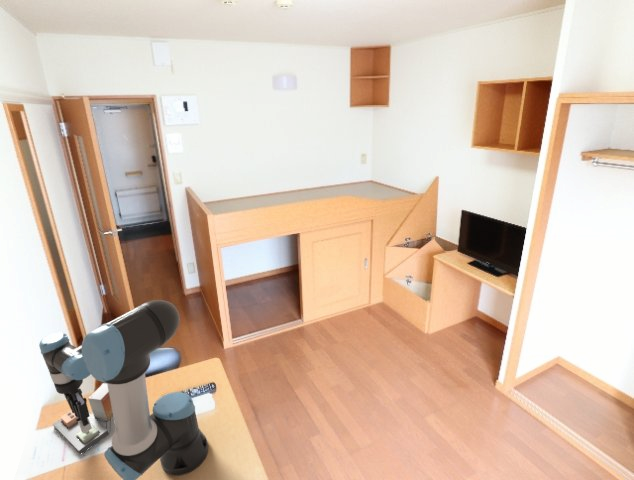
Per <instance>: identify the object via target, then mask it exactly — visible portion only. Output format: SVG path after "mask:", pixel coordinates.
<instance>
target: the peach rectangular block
mask: <svg viewBox="0 0 634 480" xmlns="http://www.w3.org/2000/svg"><path fill="white" fill-rule="evenodd" d="M60 419H61V420H62V422H63V425H64V426H65V427H66V428H67V429H68V428H69V427H71V426H72V425H74V424H75V423H77V420H76V419H77V417H76V416H75V414H74V413H72V410H71V409H70V410H69V411H68V412H66V413H65V414H63V415H61V416H60Z"/></svg>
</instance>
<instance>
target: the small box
mask: <svg viewBox="0 0 634 480" xmlns="http://www.w3.org/2000/svg"><path fill="white" fill-rule="evenodd" d="M87 400H88V402H89V405H90V408H91V411H92V413H93V417H94V418H95V419H97V420H98V421H103V422H108V421H109V420H111V418H112V417H113V412H112V407H111V401H110V396H109V391H108V385H107V384H106V383H104V382H102V383H101V385H99V387H98V388H97V389H96V390H95V391H94V392H93V393H92V394H91V395H90V396H89V397H88V398H87Z"/></svg>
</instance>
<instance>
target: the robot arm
mask: <svg viewBox="0 0 634 480" xmlns="http://www.w3.org/2000/svg"><path fill="white" fill-rule="evenodd" d="M180 317H181V315H180V312H179V311H178V308H177V307H176V306H175V305H174V304H173V303H172V302H170V301H167V300H163V299H154V300H150V301H147V302H144V303H142V304H140V305H139V306H136V307H134V308H132V309H131V310H129V311H127V312H125V313H123V314H121V315H120V316H118V317H116V318H114V319H113V320H111V321H109V322H107V323H103V324H100V325H99V326H98V327H96V328H95V329H94V330H92V331H90V332H88V333H87V334H86V335H85V337H84V338H83V340H82V342H81V344H80V345H79V346H77V347H76V346H74V345H72V344H71V342H70V339H69V337H68V335H67V333H64V332H54V333H51V334H49V335H47V336H45V337H43V338H42V339H41V340H40V341H39V345H38V346H39V350H40V354H41V355H42V357H43V361H44V362H45V364H46V367H47V370H48V374H49V376H50V379H51V381H52V382H53V385H54V387H55V391H56V392H57V393H58V394H61V395H63V396H64V398H65V399H66V402H67V403H68V406H69V408H70V411H71V410H72V413H74V414H75V416H76V417H77V419H76V420H77V422H78V423H79V426H80V428H81V431H82V433H84V434H85V433H86V432H87V431H89V430H90V429H92V427H91V425H90V422H89V419H88V417H89V413H90V412H89V409H88V404H87V403H88V402H87V400H88V399H87V397H83V394H82V393H83V391H82V389H81V388H80V387H81V385H82V384H83V383H84V380H85V379H87V378H88V377H90V376H92V377H93V378H94V379H95V380H96V381H99V382H101V383H105V384H107V385H108V391H109V396H110V401H111V407H112V412H113V416H112V417H113V421H114V428H115V430H114V432H113V435H112V438H111V446H110V447H108V448H106V450H105V452H104V454H103V456H104V458H105V460H106V461H107V463H108V464H109V466H110V467H111V468H112V469H113V471H114V472H115V473H116V474H117V475H118V476H119V477H120V478H121V479H122V480H138V479H139V478H140V477H141V476H143V474H144V473H146V472H147V471H148V470H149V469H150V468H151V467H152V466H153V465H154V464H155V463H156V462H157V461H158V460H159V459H160V465H161V468H162V469H163V471H164V472H165V473H167V474H169V475H172V476H181V475H183V476H184V475H185V474H189V473H191V472H192V471H193V472H194V470H196V469H197V468H198V467H200V465H201V464H203V462H204V461H205V459H206V458H207V455H208V452H209V443H208V440H207V437H206V435H205V434H204V432H202V430H201V429H200V427H199V422H198V418H197V415H196V414H197V413H196V406H195V404H194V401H193V398H192V397H191V396H190V395H189V394H188V393H185V392H180V391H177V392H169V393H166V394H164V395H161V397H159V398H158V399H157V400H156V401H154V404H153V407H152V413H151V414H150V406H149V397H148V390H147V380H146V372H148V370H149V368H150V366H151V357H150V354H151V353H153V352H155V351H156V350H158V349H159V348H161V347H163V345H165V344H166V343H168V342H169V341H170V340H171V339H172V338H173V337H174V336H175V335H176V333H177V331H178V329H179V326H180V323H181V318H180Z"/></svg>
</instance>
